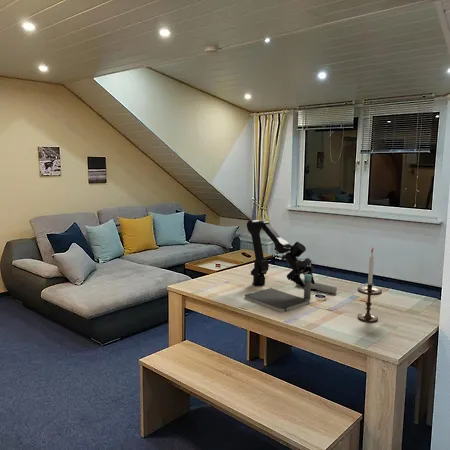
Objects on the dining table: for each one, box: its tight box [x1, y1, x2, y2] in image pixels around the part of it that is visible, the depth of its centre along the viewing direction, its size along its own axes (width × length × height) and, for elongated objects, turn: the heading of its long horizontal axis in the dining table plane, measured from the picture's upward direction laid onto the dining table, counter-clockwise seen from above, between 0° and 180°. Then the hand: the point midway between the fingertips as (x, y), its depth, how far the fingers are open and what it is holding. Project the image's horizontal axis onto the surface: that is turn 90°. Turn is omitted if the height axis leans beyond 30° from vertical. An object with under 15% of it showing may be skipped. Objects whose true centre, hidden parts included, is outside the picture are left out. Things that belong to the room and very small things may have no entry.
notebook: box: [243, 287, 311, 313], centre depth 224 cm, size 22×2×28 cm
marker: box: [303, 274, 313, 300], centre depth 228 cm, size 4×4×13 cm
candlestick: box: [356, 247, 383, 323], centre depth 197 cm, size 11×11×35 cm
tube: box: [295, 277, 338, 295], centre depth 244 cm, size 5×5×25 cm
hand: (309, 285), depth 227 cm, fingers open, 9 cm apart
